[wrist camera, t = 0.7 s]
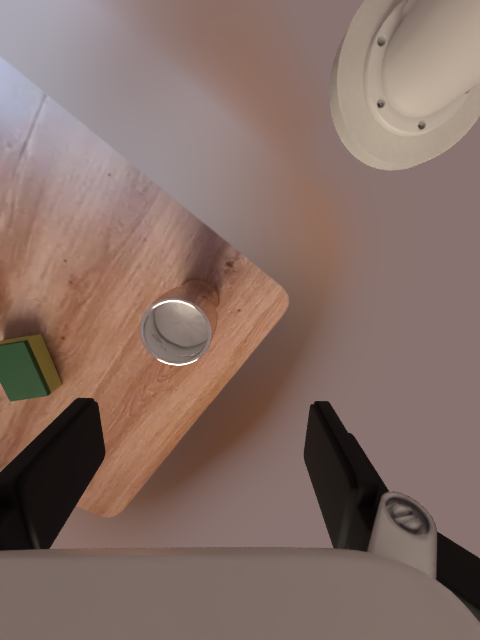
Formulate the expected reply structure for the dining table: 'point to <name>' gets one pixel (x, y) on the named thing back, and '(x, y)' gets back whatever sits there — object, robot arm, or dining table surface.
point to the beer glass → (181, 323)
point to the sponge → (27, 368)
